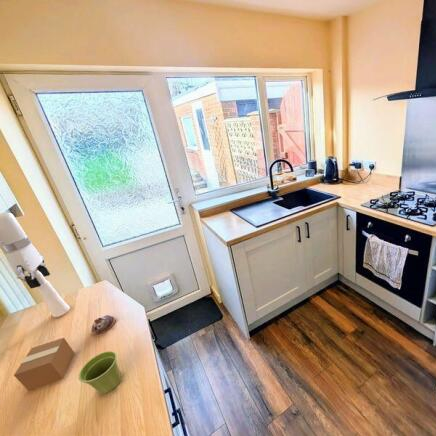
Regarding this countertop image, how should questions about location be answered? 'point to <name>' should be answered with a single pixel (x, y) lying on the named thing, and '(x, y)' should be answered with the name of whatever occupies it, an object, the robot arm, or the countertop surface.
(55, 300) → the cosmetic bottle
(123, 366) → the countertop surface
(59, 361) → the box
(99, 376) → the plant pot
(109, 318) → the pastry
